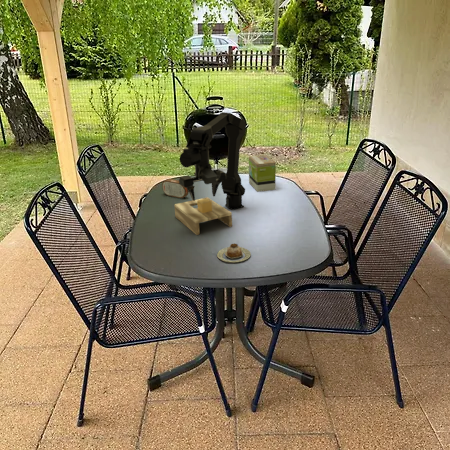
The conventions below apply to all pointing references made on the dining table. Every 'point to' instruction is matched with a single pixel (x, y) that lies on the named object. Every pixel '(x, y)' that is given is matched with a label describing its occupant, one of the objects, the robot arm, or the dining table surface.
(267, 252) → the dining table surface
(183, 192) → the tin
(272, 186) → the tea box
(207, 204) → the mustard yellow block
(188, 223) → the keyhole board
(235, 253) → the pastry
